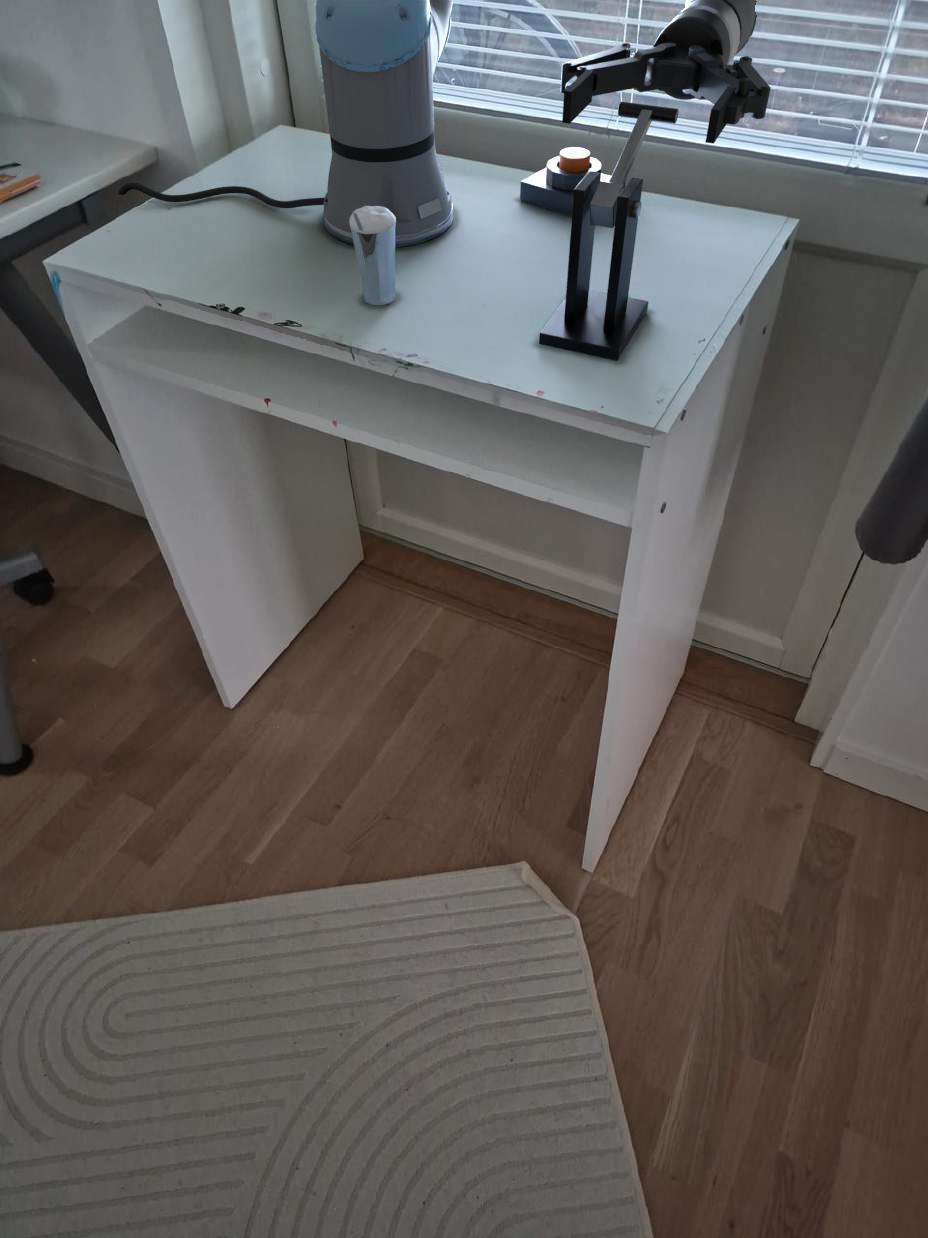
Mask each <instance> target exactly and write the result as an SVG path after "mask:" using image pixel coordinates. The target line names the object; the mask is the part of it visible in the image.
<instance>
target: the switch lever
mask: <svg viewBox="0 0 928 1238" xmlns="http://www.w3.org/2000/svg"><path fill="white" fill-rule="evenodd" d="M679 111H680V110H679V108H675V107H667V106H659V105H650V104H644V103H643V104H642V103H636V102H628V101H620V102H619V104H618V109H617V116H618V117H622V118H623V117H624V118H630V119H636V121H635V123H634V125H633V127H632V130H631V132H630V135H629V136H628V139H627V141H626V142H625V144H624V145H625V146H624V148H623V149H622V150H623V151H621V155H620V157H619V159H618V161H617V163H616V165H615V168H614V169H613V171H612V174H611V175H610V176H611V178H610V181H609V182H603V181H600V182H599V184H598V186H597V189H596V191H595V193H594V195H593V197H592V200H591V202H590V224H591V225H595V227H597V226H598V227H602V228H608V229H614V227H615V218H616V209H617V200H618V196H619V194H620V193H621V192H622V191H623V185H624V183H625V180H626V181H627V178H628V176H629V175H630V171H631V170H632V167H633V166H634V165H633V164H634V162H635V160H636V158H637V156H638V154H639V151H640V150H641V147H642V144H643V142H644V140H645V138H646V135H647V133H648V131H649V129H650V126H651V124H652V122H653V121H654V122H660V123H668V124H676V123H677V121H678V118H679ZM625 184H626V183H625Z"/></svg>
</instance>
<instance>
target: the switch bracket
mask: <svg viewBox="0 0 928 1238" xmlns="http://www.w3.org/2000/svg"><path fill="white" fill-rule="evenodd" d="M599 178H600V173H599V172H593V171H589V172H588V174H587V175H586V176H585V177H584V178H583V179H582V181H581V182H580V183H579V184H578V185H577V186H576V188H575V189H574V194H573V202H572V205H573V208H572V216H571V220H570V221H571V223H570V225H571V226H570V236H569V251H568V262H567V263H568V265H567V275H566V276H567V278H566V289H565V290H566V292H565V298H564V299H563V301H562V302H561V303H560V305H559V306H558V307H557V309H556V310H555V312H554V313H553V314H552V316H551V317H550V319H549V320H548V321H547V322H546V324H545V325H544V327H543V328H542V329H541V330H540V331H539V338H538V339H539V340H538V342H539V343H538V344H539V345H543V346H548V347H551V348H557V349H561V350H565V351H571V352H576V353H580V354H585V355H589V356H593V357H597V358H603V359H606V360H612V361H616V362H617V361H619V359H620V358H621V356H622V355H623V353H624V351H625V350H626V348H627V346H628V345H629V343H630V341H631V339H632V338H633V336H634V334H635V333H636V331H637V330H638V328H639V326H640V325H641V323H642V321H643V319H644V318H645V316H646V315H647V313H648V307H649V300H645V299H641V298H634V297H629V293H630V284H631V276H632V271H633V269H632V268H633V262H634V253H635V246H636V240H637V239H636V238H637V231H638V223H639V222H638V221H639V217H640V214H641V212H642V211H641V210H642V201H641V199H642V191H643V184H644V178H639V177H631V179H630V180H629V182H627V184H625V188H624V189H623V191H622V192H621V193H620V194H619V196H618V200H617V209H616V218H615V226H614V228H613V236H612V237H613V238H612V247H611V254H610V255H611V256H610V263H609V264H610V265H609V273H608V283H607V291H606V292H603V291H597V290H592V289H590V285H591V284H590V283H591V275H592V274H591V272H592V261H593V254H594V253H593V250H594V241H595V231H596V230H595V229H596V225H591V224H590V202H591V200H592V197H593V195H594V193H595V191H596V189H597V186H598V184H599Z"/></svg>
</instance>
